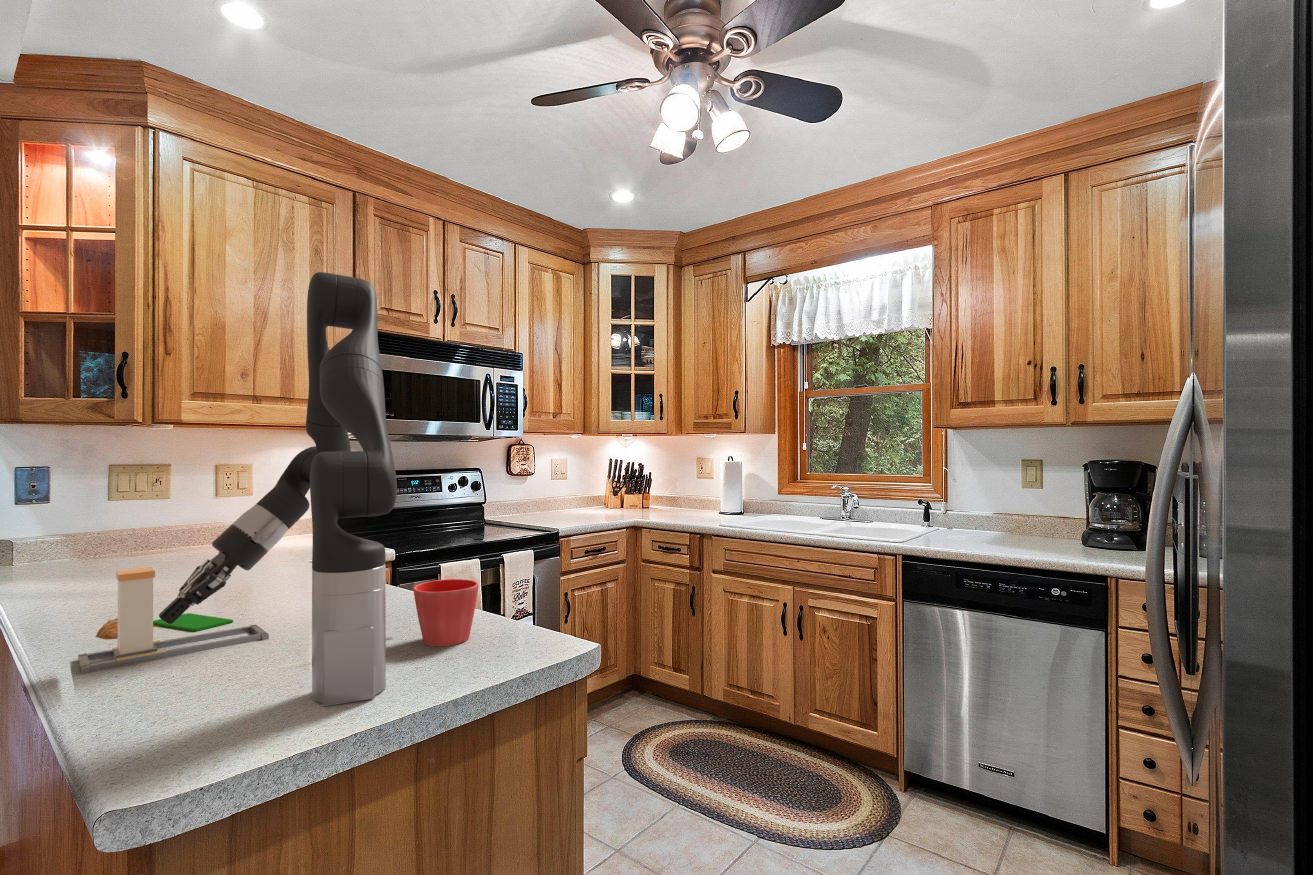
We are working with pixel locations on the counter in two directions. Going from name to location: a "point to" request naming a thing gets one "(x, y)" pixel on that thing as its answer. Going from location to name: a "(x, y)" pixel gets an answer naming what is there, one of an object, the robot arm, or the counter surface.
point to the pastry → (109, 630)
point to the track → (137, 658)
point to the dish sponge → (193, 622)
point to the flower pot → (446, 610)
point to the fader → (135, 612)
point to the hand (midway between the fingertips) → (164, 620)
